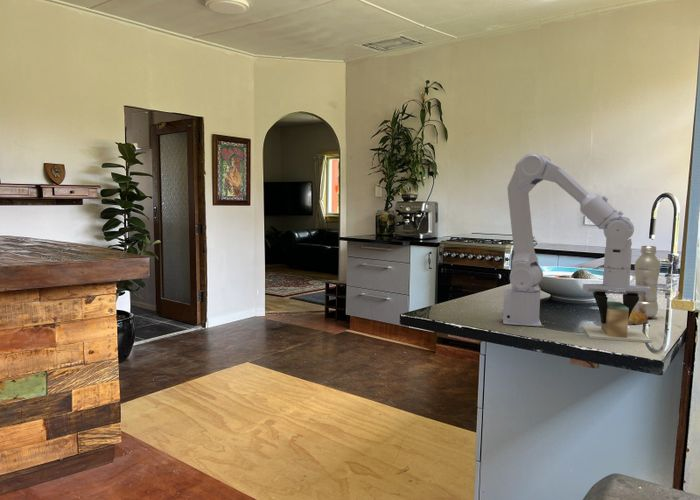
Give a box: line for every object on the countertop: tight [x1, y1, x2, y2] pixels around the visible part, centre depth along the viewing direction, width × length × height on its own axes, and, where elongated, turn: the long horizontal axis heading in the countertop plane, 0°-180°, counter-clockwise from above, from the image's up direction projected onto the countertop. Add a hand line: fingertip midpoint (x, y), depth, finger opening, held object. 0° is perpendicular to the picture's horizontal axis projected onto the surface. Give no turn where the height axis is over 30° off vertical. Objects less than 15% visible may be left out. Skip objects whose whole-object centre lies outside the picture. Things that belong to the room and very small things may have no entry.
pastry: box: [628, 310, 649, 326], centre depth 140 cm, size 9×7×4 cm
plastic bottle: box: [633, 245, 662, 318], centre depth 144 cm, size 6×7×20 cm
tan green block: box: [600, 300, 629, 338], centre depth 125 cm, size 4×8×7 cm, turn 165°
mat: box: [581, 324, 652, 344], centre depth 126 cm, size 13×11×1 cm
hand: (613, 323), depth 125 cm, fingers closed on tan green block, 4 cm apart
